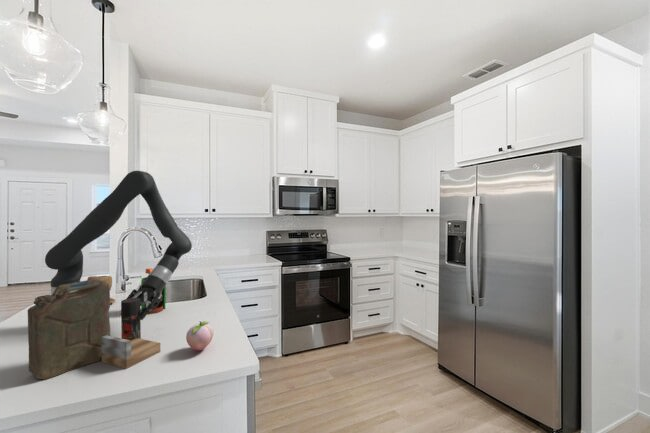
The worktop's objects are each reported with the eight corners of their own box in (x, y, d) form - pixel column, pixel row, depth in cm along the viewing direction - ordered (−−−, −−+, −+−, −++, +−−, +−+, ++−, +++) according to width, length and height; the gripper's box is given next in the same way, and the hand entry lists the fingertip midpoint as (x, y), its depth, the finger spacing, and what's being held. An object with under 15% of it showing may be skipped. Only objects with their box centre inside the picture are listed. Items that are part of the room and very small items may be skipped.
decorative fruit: (193, 344, 111) (193, 316, 110) (216, 344, 110) (216, 316, 110) (180, 356, 101) (180, 326, 101) (205, 357, 101) (205, 326, 101)
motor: (152, 315, 140) (152, 271, 140) (135, 314, 142) (135, 270, 142) (168, 308, 150) (168, 267, 150) (152, 307, 152) (152, 266, 152)
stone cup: (111, 299, 164) (111, 271, 164) (117, 304, 156) (117, 275, 156) (75, 306, 153) (74, 276, 153) (79, 311, 145) (78, 280, 145)
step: (101, 362, 97) (101, 337, 97) (136, 346, 109) (136, 323, 108) (126, 368, 94) (126, 342, 93) (160, 351, 105) (160, 328, 105)
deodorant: (144, 339, 115) (144, 299, 114) (128, 345, 109) (127, 303, 109) (133, 336, 117) (133, 297, 117) (117, 342, 112) (117, 301, 111)
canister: (101, 350, 106) (100, 277, 105) (113, 356, 101) (112, 280, 100) (26, 375, 90) (25, 289, 89) (36, 384, 85) (35, 293, 85)
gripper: (138, 272, 123) (110, 310, 113) (165, 275, 118) (138, 314, 108) (150, 283, 128) (124, 319, 118) (176, 286, 124) (151, 324, 113)
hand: (131, 317), depth 113 cm, fingers open, 8 cm apart
